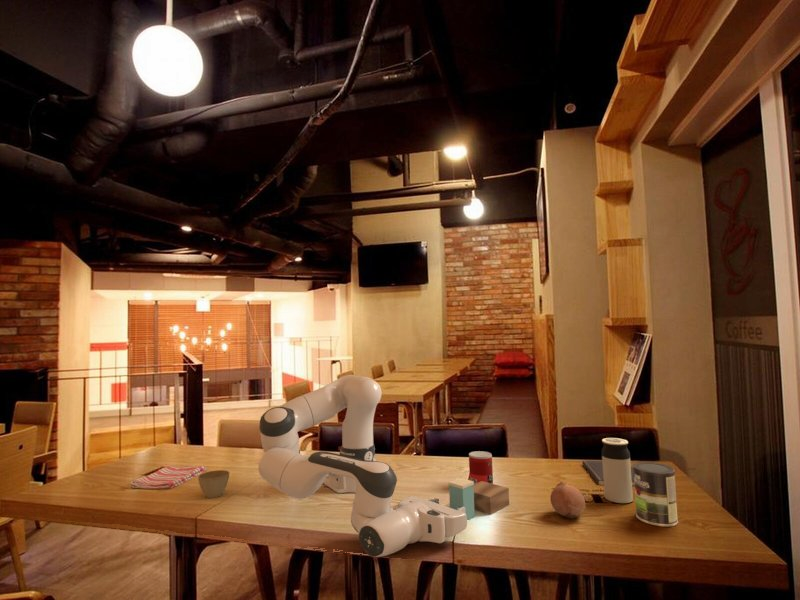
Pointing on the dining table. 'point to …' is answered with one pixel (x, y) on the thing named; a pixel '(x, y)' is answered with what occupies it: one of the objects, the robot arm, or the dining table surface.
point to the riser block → (490, 497)
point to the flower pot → (213, 482)
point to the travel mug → (617, 470)
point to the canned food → (480, 467)
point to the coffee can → (655, 494)
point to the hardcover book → (600, 471)
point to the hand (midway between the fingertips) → (449, 505)
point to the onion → (567, 500)
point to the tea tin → (462, 496)
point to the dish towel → (167, 477)
